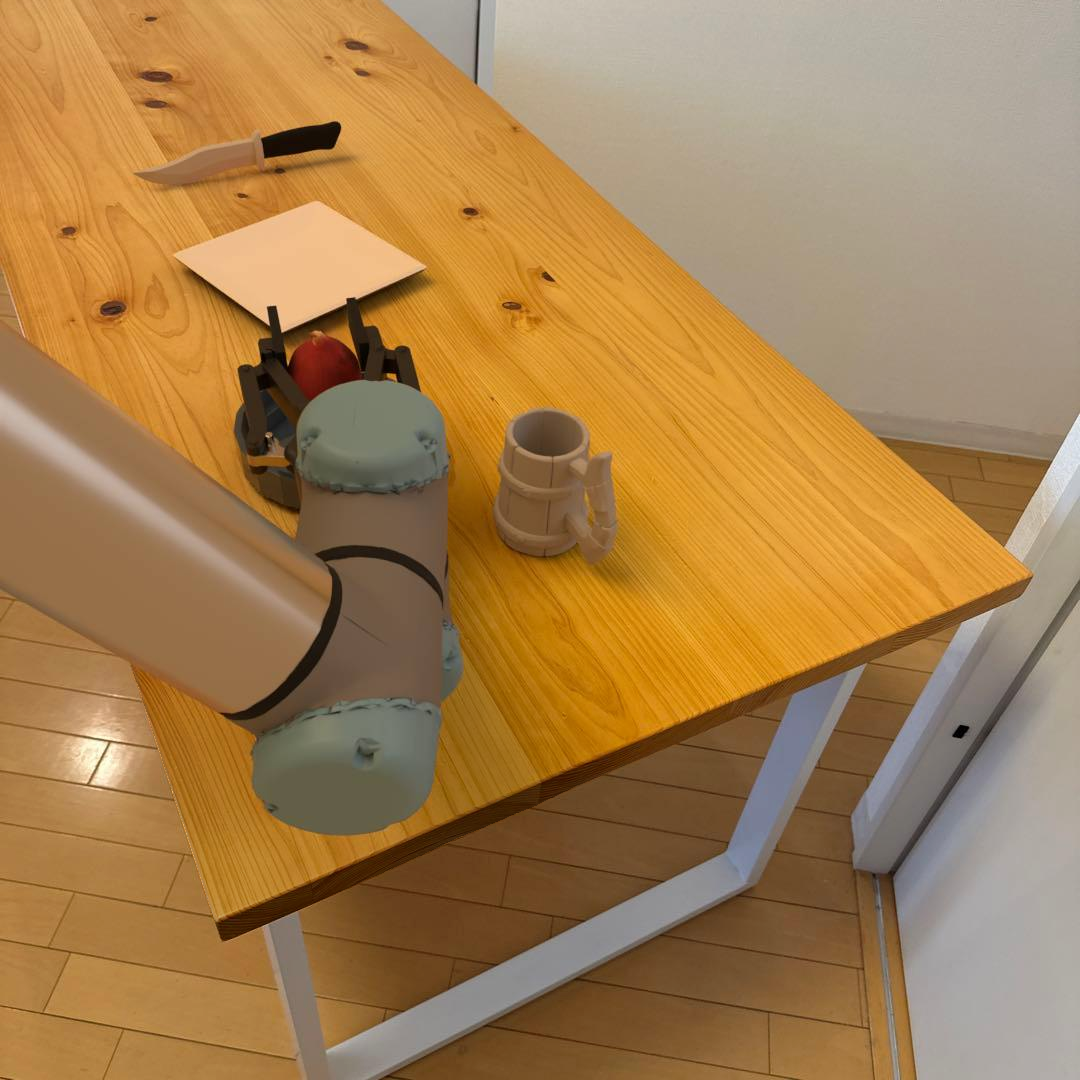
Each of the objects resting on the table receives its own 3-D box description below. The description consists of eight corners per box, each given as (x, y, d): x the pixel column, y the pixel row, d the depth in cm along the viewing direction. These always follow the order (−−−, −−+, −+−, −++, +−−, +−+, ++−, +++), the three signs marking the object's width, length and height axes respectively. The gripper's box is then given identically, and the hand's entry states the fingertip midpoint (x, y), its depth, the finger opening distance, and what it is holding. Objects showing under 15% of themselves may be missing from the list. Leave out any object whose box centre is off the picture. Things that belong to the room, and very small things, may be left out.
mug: (544, 481, 86) (555, 366, 77) (640, 562, 80) (663, 447, 71) (473, 518, 82) (476, 401, 74) (568, 606, 76) (583, 490, 68)
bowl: (233, 521, 80) (225, 484, 77) (249, 403, 91) (243, 366, 88) (424, 515, 82) (423, 478, 79) (419, 400, 93) (418, 364, 90)
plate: (282, 349, 97) (279, 331, 95) (174, 270, 105) (170, 252, 104) (428, 282, 107) (427, 265, 105) (319, 215, 115) (317, 198, 114)
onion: (340, 383, 86) (332, 302, 80) (378, 418, 83) (372, 336, 77) (279, 407, 83) (267, 325, 77) (316, 444, 80) (305, 361, 74)
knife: (139, 195, 116) (129, 153, 112) (135, 188, 117) (125, 146, 113) (345, 161, 125) (342, 121, 121) (340, 155, 126) (337, 115, 122)
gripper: (224, 569, 67) (203, 367, 83) (493, 525, 72) (426, 341, 87) (204, 487, 62) (185, 287, 77) (496, 444, 66) (424, 263, 82)
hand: (313, 316), depth 82 cm, fingers closed on onion, 6 cm apart
